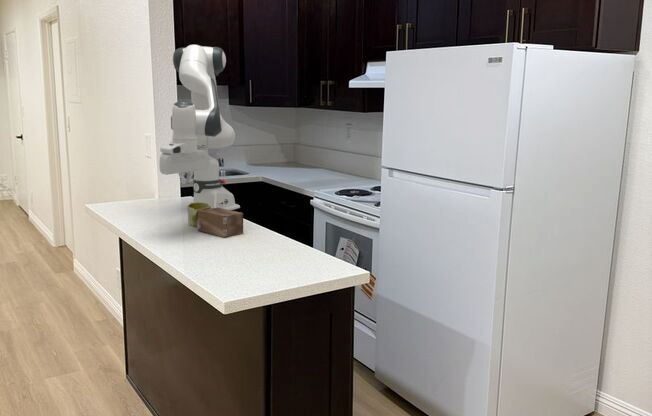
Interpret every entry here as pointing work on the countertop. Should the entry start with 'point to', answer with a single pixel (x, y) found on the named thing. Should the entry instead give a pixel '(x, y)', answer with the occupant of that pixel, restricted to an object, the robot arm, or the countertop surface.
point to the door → (212, 223)
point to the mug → (195, 211)
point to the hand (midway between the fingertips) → (186, 183)
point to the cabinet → (231, 220)
